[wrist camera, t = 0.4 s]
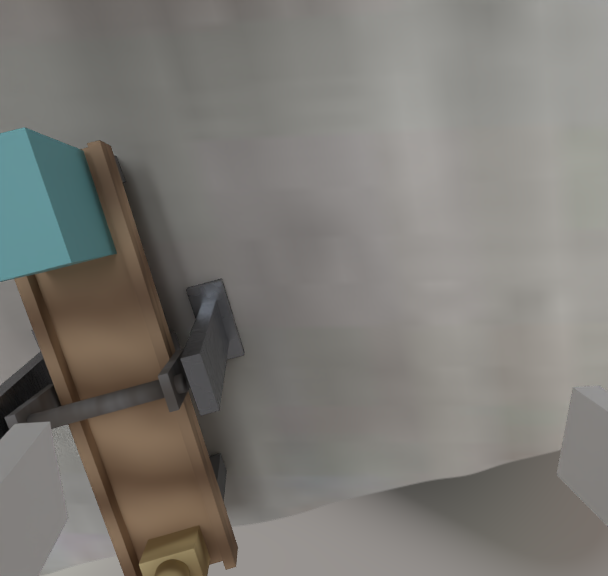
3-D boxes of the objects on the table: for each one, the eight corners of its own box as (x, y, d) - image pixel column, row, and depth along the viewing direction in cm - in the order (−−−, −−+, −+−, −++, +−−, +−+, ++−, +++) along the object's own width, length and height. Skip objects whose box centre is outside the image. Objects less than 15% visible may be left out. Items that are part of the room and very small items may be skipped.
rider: (8, 169, 28) (-76, 151, 21) (83, 150, 28) (24, 127, 22) (44, 272, 29) (-24, 287, 23) (117, 253, 30) (71, 262, 23)
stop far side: (159, 470, 41) (148, 503, 37) (220, 453, 41) (216, 484, 37) (165, 487, 42) (156, 521, 38) (226, 470, 42) (223, 502, 38)
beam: (17, 185, 34) (-104, 167, 23) (149, 153, 35) (93, 119, 23) (142, 534, 39) (93, 657, 28) (255, 502, 40) (250, 610, 29)
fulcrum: (36, 327, 36) (-66, 399, 25) (221, 278, 37) (207, 326, 25) (68, 398, 38) (-12, 496, 27) (244, 351, 39) (239, 426, 27)
